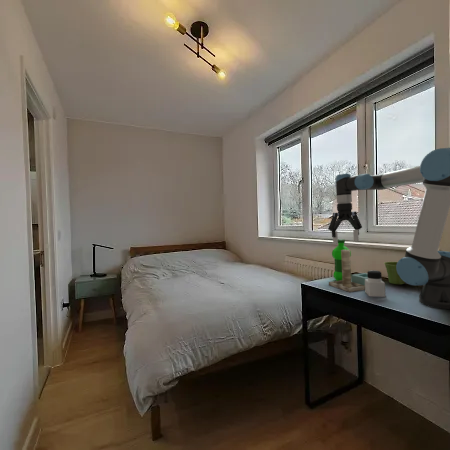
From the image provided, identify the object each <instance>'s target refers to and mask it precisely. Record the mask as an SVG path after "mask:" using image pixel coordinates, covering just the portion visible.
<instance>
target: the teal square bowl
mask: <svg viewBox="0 0 450 450" xmlns="http://www.w3.org/2000/svg"><path fill="white" fill-rule="evenodd" d="M365 279H368V275H367V272H362V273H354V274H351V282H354V283H358V284H361V285H365Z"/></svg>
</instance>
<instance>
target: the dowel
mask: <svg viewBox="0 0 450 450" xmlns="http://www.w3.org/2000/svg"><path fill="white" fill-rule="evenodd" d="M350 251H351V249H349V250H341V258H342V281H343V286H345V287H348V288H351V287H352V285H351V282H352V266H351V265H352V264H351V263H352V262H351V257H350Z"/></svg>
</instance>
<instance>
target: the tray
mask: <svg viewBox="0 0 450 450" xmlns="http://www.w3.org/2000/svg"><path fill="white" fill-rule="evenodd" d="M351 285H352V287H351V288H348V287H345V286H343V281H342V280H339V281H337V280H333V281H328V286H331V287H334V288H337V289H340V290H342V291H345V292H348V293H354V292H359V291H365V285H361V284H358V283H354V282H352V281H351Z"/></svg>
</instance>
